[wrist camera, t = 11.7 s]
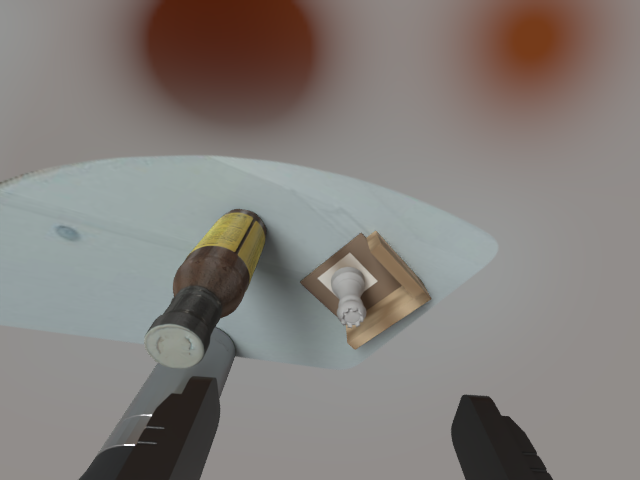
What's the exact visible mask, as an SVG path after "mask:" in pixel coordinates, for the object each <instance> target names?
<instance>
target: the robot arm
mask: <svg viewBox="0 0 640 480" xmlns="http://www.w3.org/2000/svg"><path fill="white" fill-rule="evenodd" d="M234 358H235V346H234V344H233V342H232V340H231V339H230V337H229V336H227V335H226V334H225V333H224V332H223V331H221V330H219V329H217V328H214V330H213V332H212V334H211V336H210V344H209V347H208V349H207V351H206V354H205V356H204V358H203V359H202V360H201V361H200V362H199V363H198V364H196V365H195V366H193V367H190V368H186V369H179V368H170V367H166V366H163V365H161V364H159V363H157V365H156V366H155V368H154V369H153V371H152V373H151V374H150V375H149V377H148V378H147V380H146V382H145V383H144V384H143V386H142V388H141V389H140V391H139V392H138V394H137V395H136V397H135V398H134V400H133V401H132V403H131V404H130V406H129V407H128V409H127V410H126V412H125V413H124V415H123V416H122V418H121V419H120V421H119V422H118V424H117V425H116V427H115V429H114V430H113V432H112V433H111V435H110V436H109V438H108V439H107V441H106V442H105V444H104V445H103V447H102V448H101V450H100V451H99V453H98V454H97V456H96V458H95V459H94V460H93V462H92V463H91V465H90V466H89V468H88V469H87V471H86V472H85V473H84V474H83V475H82V476H81V478H80V479H79V480H199V479H200V477H201V474H202V471H203V468H204V465H205V463H206V460H207V457H208V454H209V451H210V448H211V445H212V442H213V439H214V437H215V434H216V431H217V427H218V423H219V418H220V402H219V398H220V396H221V392H222V390H223V387H224V385H225V382H226V380H227V377H228V374H229V371H230V368H231V366H232V363H233V360H234ZM451 435H452V442H453V446H454V449H455V451H456V454H457V457H458V460H459V462H460V465H461V468H462V471H463V473H464V476H465V479H466V480H553V479H552V477H551V476H550V474H549V473H547V471H546V467H545V465H544V464H543V462H542V460H541V459H540V457H539V456H537V452H536V450H535V449H534V447H533V445H532V444H531V442H530V440H529V439H528V437H527V435H526V434H525V432H524V431H523V430H521V428H520V427H519V426H518V425H517V424H516V423H515V422H514V421H513V420H512V419H511V418H510V417H509V416H501V414H500V412H499V410H498V409H497V407H496V405H495V403H494V402H493V400H492V399H491V398H490V397H488V396H477V395H463V396H462V398H461V400H460V403H459V406H458V409H457V412H456V415H455V417H454V420H453V423H452V428H451Z"/></svg>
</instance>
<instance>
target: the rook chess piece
mask: <svg viewBox="0 0 640 480" xmlns="http://www.w3.org/2000/svg"><path fill="white" fill-rule="evenodd" d="M331 287H332V291H333V293H334V294H335V295H336V296H337V297H338V298H339V300H340V301H339V304H338V306H339V308H338V309H337V317H338V319H339V320H340V321H341V323H342V324H343V325H345V324H346V325H347V326H348V328H352V325H356V327H358V326H360V322H363V321H364V319H365V317H366V308H365V307H364V306H363V303H362V300H361V299H360V297H361V295H362V294H363V292H364V289H365V278H364V275H363V274H362V273H361V271H359V270H358V269H356V268H353V267H344V268H340V269H339V270H337V271H336V272H335V273H334V274H333V276H332V278H331Z"/></svg>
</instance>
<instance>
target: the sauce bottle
mask: <svg viewBox="0 0 640 480" xmlns="http://www.w3.org/2000/svg"><path fill="white" fill-rule="evenodd" d="M265 238H266V228H265V225H264V223H263V222H262V220H261V219H260V218H259V217H258V216H257V215H256V214H255V213H253V212H251V211H248V210H243V209H234V210H231V211H230V212H228V213H226V214H225V215H223V216H222V217H221V218H220V219H219V220H218V221H217V222H216V223H215V224H214V226H213V227H212V228H211V229H210V230H209V231H208V233H207V234H206V235H205V236H204V238H203V239H202V240H201V241H200V242H199V243H198V245H197V246H196V247H195V248H194V249H193V250H192V252H191V253H190V254H189V255H188V256H187V258H186V260H185V261H184V263H183V264H182V265H181V266H180V268H179V269H178V270H177V273H176V275H175V278H174V282H173V293H174V298H173V299H172V301H171V304H170V305H169V307H168V308H167V309H166V311H165V313H164V314H163V315H161V316H159V317H158V318H157V319H156V320H155V321H154V322H153V324H152V326H151V327H150V329H149V330H148V332H147V333H146V335H145V340H144V344H145V348H146V350H147V352H148V353H149V355H150V356H151V357H152V358H153V359H154V360H155V361H156V362H158V363H159V364H161V365H163V366H166V367H170V368H179V369H186V368H190V367H193V366H195V365H196V364H198V363H199V362H200V361H201V360H202V359H203V358H204V356H205V354H206V351H207V349H208V347H209V344H210V336H211V334H212V332H213V330H214V328H215V326H216V324H217V323H218V322H219V320H220V318H223V317H225V316H228V315H229V314H231V313H232V312H233V311H235V310H236V308H237V307H238V306H239V304H240V302H241V301H242V299H243V296H244V294H245V292H246V290H247V288H248V286H249V284H250V281H251V278H252V276H253V273H254V270H255V268H256V265H257V263H258V260H259V258H260V255H261V252H262V250H263V247H264V244H265Z"/></svg>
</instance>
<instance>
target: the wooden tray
mask: <svg viewBox="0 0 640 480" xmlns="http://www.w3.org/2000/svg"><path fill="white" fill-rule="evenodd" d="M344 267H353V268H356V269H358V270H359V271H361V273H362V274H363V275H364V278H365V289H364V292H363V294H362V295H361V297H360V299H361V300H362V303H363V306H364V307H365V308H366V317H365V319H364V321H363V322H360V326H358V327H356V325H352V328H348V326H347V325H346V324H345V325H346V331H347V342H348V344H349V345H350V346H351V347H352V348H354V349H357V348H358V347H360V346H361V345H363V344H364V343H366V342H367V341H369V340H370V339H372V338H373V337H375V336H376V335H378V334H379V333H381V332H382V331H384V330H385V329H387V328H388V327H390V326H391V325H393V324H394V323H396V322H398V321H399V320H401V319H402V318H404V317H405V316H407V315H408V314H410V313H411V312H413V311H414V310H416V309H417V308H419V307H420V306H422V305H423V304H425V303H426V302H428V301H429V300H431V297H430V295H429V293H428V292H427V290H426V288H425V286H424V284H423V282H422V281H421V280H420V279H419V278H418V277H417V275H416V274H415V273H414V272H413V271H412V270H411V269H410V268H409V267H408V266H407V264H406V263H405V262H404V261H403V260H402V259H401V258H400V257H399V256H398V255H397V253H396V252H395V251H394V250H393V249H392V248H391V247H390V246H389V245H388V244H387V242H386V241H385V240H384V239H383V238H382V237H381V236H380V235H379V234H378V232H377V231H375V232H373V233H372V234H371V235H370V236H368V237H367V238H366V237H365V236H364V235H363V234H362V233H360V234H359V235H358V236H356V237H355V238H354V239H353V240H351V241H350V242H349V243H348V244H346V245H345V246H344V247H343V248H341V249H340V250H339V251H338V252H336V253H335V254H334V255H333V256H331V257H330V258H329V259H328V260H326V261H325V262H324V263H323V264H321V265H320V266H319V267H318V268H316V269H315V270H314V271H313V272H311V273H310V274H309V275H308V276H306V277H305V278H304V279H303V280H301V281H300V283H301V284H302V285H303V286H304V287H305V288H306V289H307V290H309V291H310V292H311V293H312V294H313V295H314V296H315V297H316V298H317V299H318V300H319V301H320V302H322V303H323V304H324V305H325V306H326V307H327V308H328V309H329V310H330V311H331V312H332V313H334V314H335V315H336V316H337V309H338V308H339V306H338V304H339V301H340V300H339V298H338V297H337V296H336V295H335V294H334V293H333V291H332V287H331V278H332V276H333V274H334V273H335V272H336V271H337V270H339V269H340V268H344Z"/></svg>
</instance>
